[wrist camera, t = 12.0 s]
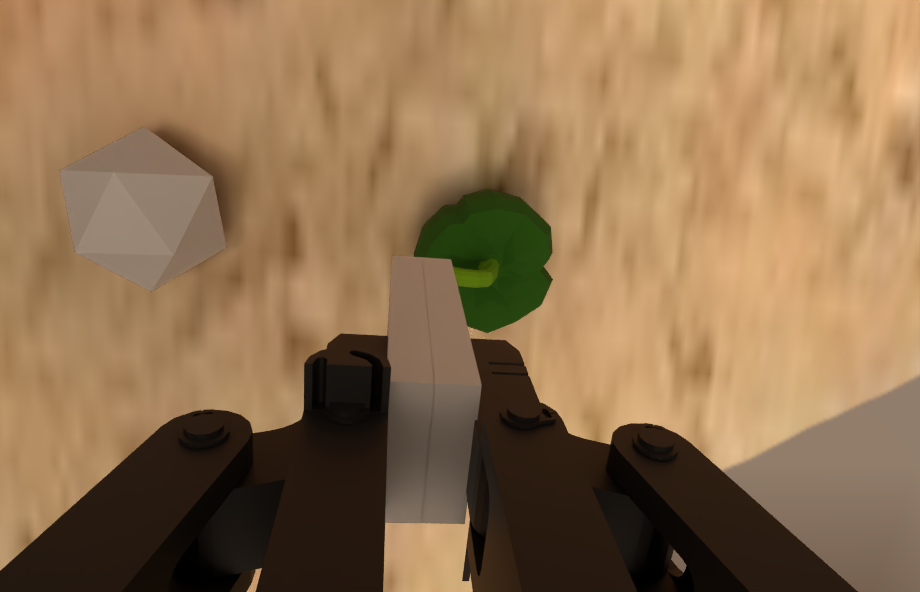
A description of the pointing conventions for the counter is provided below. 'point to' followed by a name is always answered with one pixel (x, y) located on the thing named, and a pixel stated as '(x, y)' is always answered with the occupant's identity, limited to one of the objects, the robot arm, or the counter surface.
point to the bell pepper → (492, 255)
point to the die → (142, 210)
